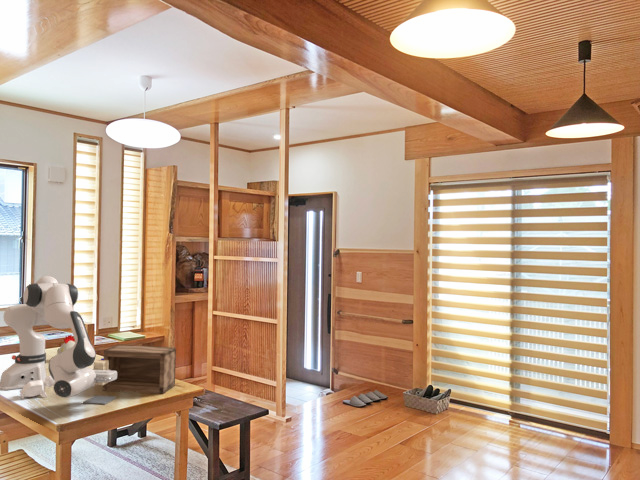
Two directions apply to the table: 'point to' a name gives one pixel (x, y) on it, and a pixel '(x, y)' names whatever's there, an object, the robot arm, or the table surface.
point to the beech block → (101, 368)
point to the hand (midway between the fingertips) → (102, 370)
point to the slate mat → (99, 400)
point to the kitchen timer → (66, 344)
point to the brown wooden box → (141, 368)
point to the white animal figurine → (36, 387)
